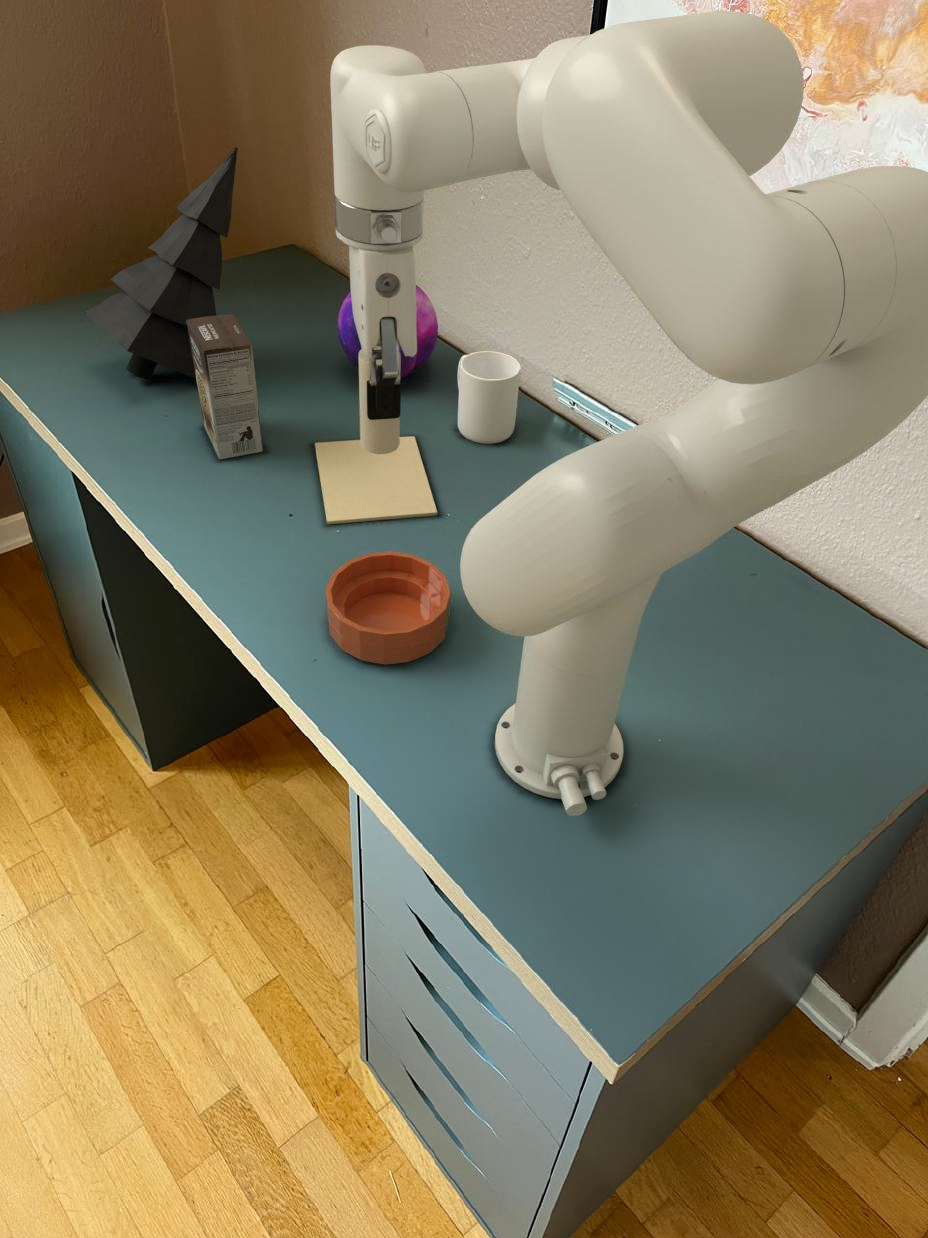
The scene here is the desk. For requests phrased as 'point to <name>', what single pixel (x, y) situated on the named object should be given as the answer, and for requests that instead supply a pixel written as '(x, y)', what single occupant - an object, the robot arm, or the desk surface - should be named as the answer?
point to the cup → (487, 396)
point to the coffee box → (226, 384)
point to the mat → (373, 482)
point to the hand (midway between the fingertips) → (380, 402)
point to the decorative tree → (172, 281)
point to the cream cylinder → (380, 432)
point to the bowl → (388, 607)
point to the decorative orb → (409, 365)
